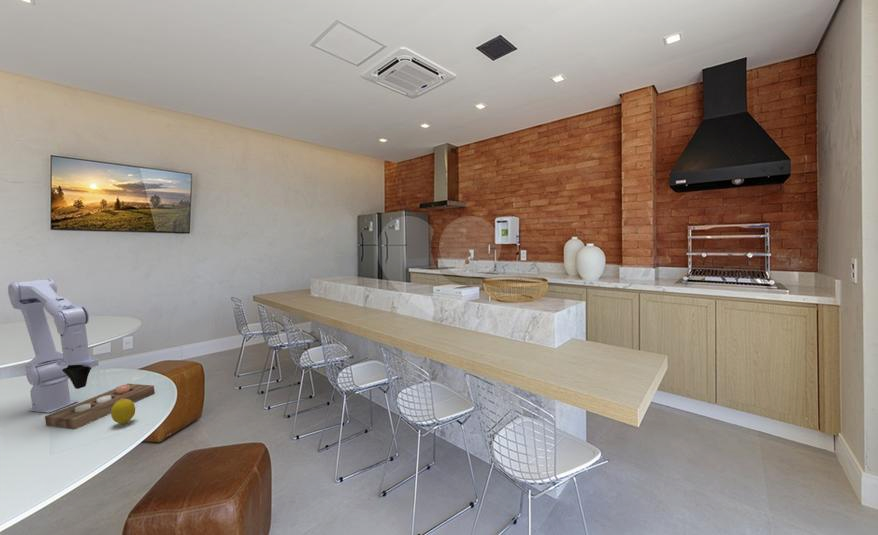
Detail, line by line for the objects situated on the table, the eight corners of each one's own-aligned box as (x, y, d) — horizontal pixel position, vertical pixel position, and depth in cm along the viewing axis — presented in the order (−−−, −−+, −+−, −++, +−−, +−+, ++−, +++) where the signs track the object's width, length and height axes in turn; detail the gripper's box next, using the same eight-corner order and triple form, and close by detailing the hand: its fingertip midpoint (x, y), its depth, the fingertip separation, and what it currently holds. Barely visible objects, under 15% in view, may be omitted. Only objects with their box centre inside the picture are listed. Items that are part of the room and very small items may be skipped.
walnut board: (46, 425, 109) (44, 416, 108) (128, 391, 132) (128, 383, 132) (75, 429, 106) (74, 419, 106) (154, 393, 130) (153, 385, 129)
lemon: (122, 429, 105) (119, 403, 104) (107, 427, 106) (104, 402, 106) (141, 419, 111) (138, 395, 110) (127, 418, 112) (124, 394, 111)
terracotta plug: (114, 396, 123) (113, 388, 123) (125, 392, 127) (124, 384, 127) (122, 397, 123) (121, 389, 122) (133, 392, 126) (132, 384, 126)
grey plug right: (72, 417, 112) (71, 408, 112) (86, 412, 115) (85, 403, 115) (81, 418, 111) (80, 409, 111) (94, 412, 115) (93, 404, 114)
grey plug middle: (94, 408, 118) (93, 399, 117) (106, 403, 121) (105, 395, 121) (103, 409, 117) (101, 400, 117) (115, 404, 120) (113, 395, 120)
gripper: (41, 349, 109) (47, 391, 110) (77, 351, 106) (82, 394, 107) (69, 342, 116) (75, 382, 117) (103, 343, 113) (108, 384, 114)
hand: (80, 387), depth 113 cm, fingers closed
